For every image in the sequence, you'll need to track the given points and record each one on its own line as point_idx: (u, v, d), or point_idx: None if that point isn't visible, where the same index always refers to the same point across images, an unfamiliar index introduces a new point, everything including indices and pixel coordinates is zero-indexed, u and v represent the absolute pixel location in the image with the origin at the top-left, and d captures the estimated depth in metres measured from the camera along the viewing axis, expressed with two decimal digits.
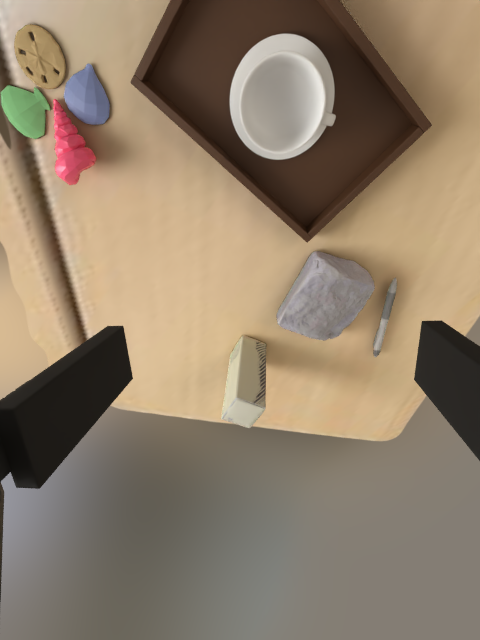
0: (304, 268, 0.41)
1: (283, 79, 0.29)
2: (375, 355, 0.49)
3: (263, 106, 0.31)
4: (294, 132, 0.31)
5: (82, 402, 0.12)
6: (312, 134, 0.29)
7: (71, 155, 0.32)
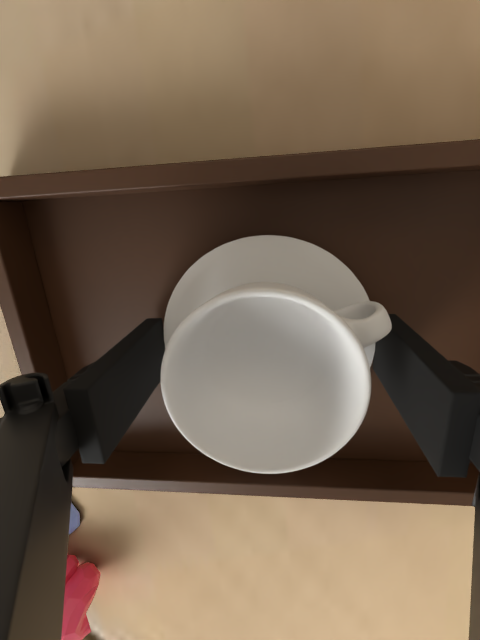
0: None
1: (239, 320, 0.14)
2: None
3: (242, 373, 0.15)
4: (325, 372, 0.14)
5: (133, 388, 0.12)
6: (367, 385, 0.11)
7: None
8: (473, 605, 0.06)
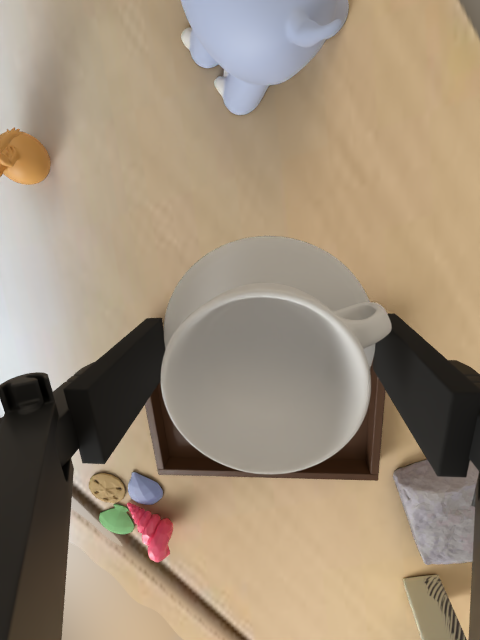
0: (399, 494, 0.35)
1: (239, 320, 0.14)
2: None
3: (243, 374, 0.15)
4: (325, 372, 0.14)
5: (133, 388, 0.12)
6: (366, 386, 0.11)
7: (153, 544, 0.38)
8: (473, 605, 0.06)
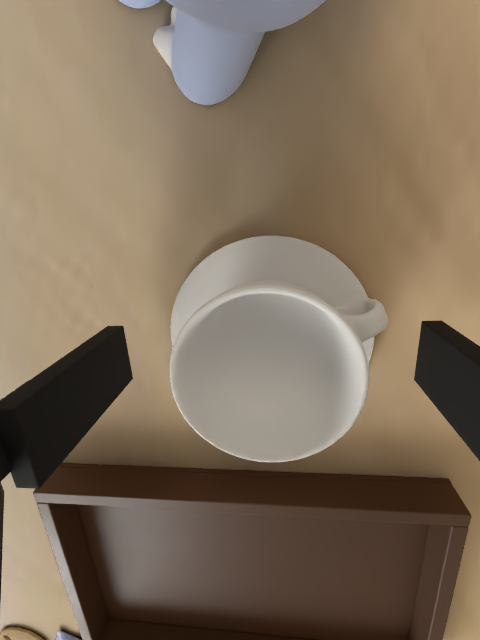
0: None
1: (243, 316, 0.15)
2: None
3: (246, 368, 0.16)
4: (325, 366, 0.15)
5: (82, 403, 0.12)
6: (364, 377, 0.11)
7: None
8: None
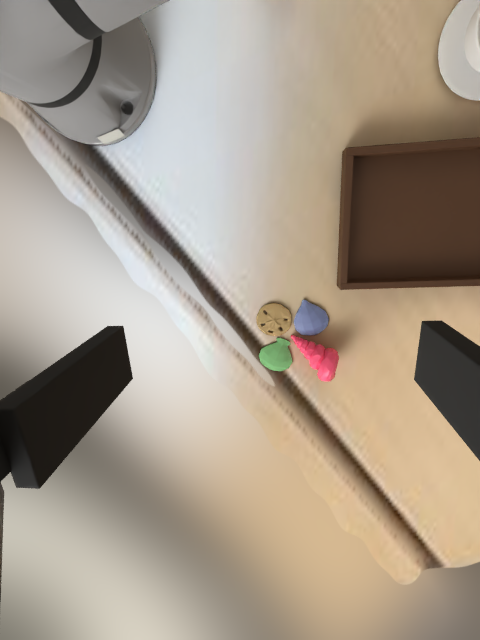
0: None
1: None
2: None
3: None
4: None
5: (82, 402, 0.12)
6: None
7: (327, 360, 0.41)
8: None
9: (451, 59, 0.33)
